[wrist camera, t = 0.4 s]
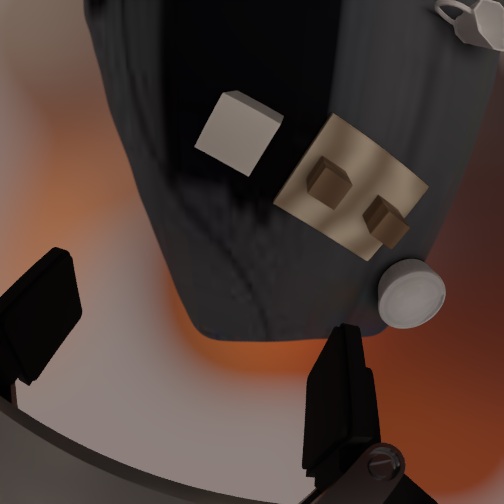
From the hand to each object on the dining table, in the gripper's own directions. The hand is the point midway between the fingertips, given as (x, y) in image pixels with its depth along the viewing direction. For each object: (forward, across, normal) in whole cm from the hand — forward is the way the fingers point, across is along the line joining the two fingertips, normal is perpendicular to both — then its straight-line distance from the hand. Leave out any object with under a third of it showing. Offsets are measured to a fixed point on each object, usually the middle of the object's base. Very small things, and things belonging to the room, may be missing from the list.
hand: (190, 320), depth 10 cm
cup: (+32, -20, -24) cm, 45 cm away
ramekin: (+33, -26, +16) cm, 44 cm away
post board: (+32, -12, +4) cm, 34 cm away
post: (+31, -16, +5) cm, 35 cm away
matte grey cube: (+32, +4, -2) cm, 32 cm away
